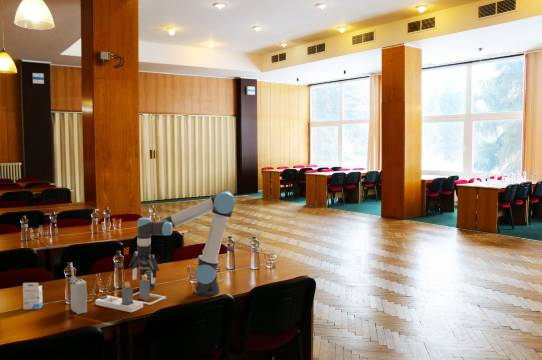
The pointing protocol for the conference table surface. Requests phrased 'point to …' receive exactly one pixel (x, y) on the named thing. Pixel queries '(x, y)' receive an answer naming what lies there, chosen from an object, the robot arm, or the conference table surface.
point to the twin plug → (127, 294)
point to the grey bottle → (144, 288)
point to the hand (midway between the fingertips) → (143, 281)
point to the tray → (151, 296)
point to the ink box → (32, 296)
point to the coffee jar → (146, 272)
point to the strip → (118, 303)
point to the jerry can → (78, 294)
